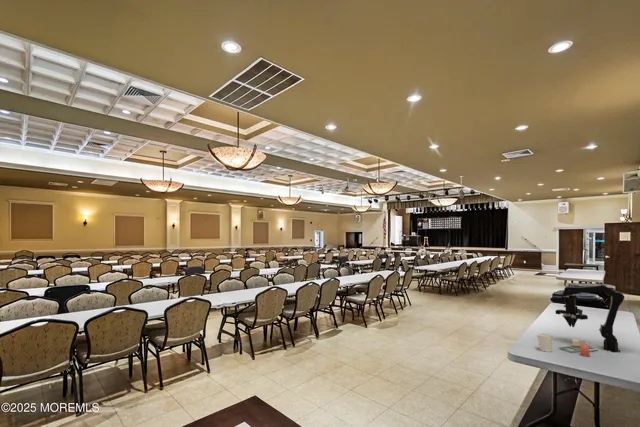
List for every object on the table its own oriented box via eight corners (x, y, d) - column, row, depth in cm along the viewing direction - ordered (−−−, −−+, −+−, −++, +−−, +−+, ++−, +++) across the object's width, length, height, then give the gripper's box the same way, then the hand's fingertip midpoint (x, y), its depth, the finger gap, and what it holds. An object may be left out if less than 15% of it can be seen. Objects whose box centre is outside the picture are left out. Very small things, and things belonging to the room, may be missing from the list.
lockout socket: (584, 351, 206) (583, 349, 206) (571, 353, 204) (571, 351, 204) (571, 347, 214) (571, 345, 214) (559, 348, 211) (559, 347, 212)
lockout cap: (592, 356, 197) (591, 346, 198) (586, 357, 196) (585, 346, 197) (583, 353, 202) (583, 343, 203) (578, 354, 201) (577, 344, 202)
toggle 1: (580, 346, 213) (580, 340, 213) (576, 346, 212) (576, 341, 212) (575, 344, 216) (575, 339, 216) (572, 344, 215) (572, 339, 215)
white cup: (547, 348, 213) (546, 333, 214) (556, 352, 205) (555, 336, 206) (535, 348, 213) (534, 333, 214) (544, 352, 205) (543, 336, 206)
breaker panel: (598, 351, 207) (598, 349, 207) (587, 352, 205) (586, 350, 205) (580, 345, 218) (580, 343, 218) (570, 346, 215) (569, 345, 216)
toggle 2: (585, 345, 214) (585, 340, 214) (582, 345, 213) (582, 340, 213) (581, 343, 217) (580, 338, 217) (577, 344, 216) (577, 339, 216)
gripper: (593, 306, 216) (594, 329, 214) (566, 301, 234) (567, 322, 233) (580, 307, 213) (582, 330, 212) (554, 302, 231) (555, 323, 230)
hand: (571, 326), depth 222 cm, fingers closed
